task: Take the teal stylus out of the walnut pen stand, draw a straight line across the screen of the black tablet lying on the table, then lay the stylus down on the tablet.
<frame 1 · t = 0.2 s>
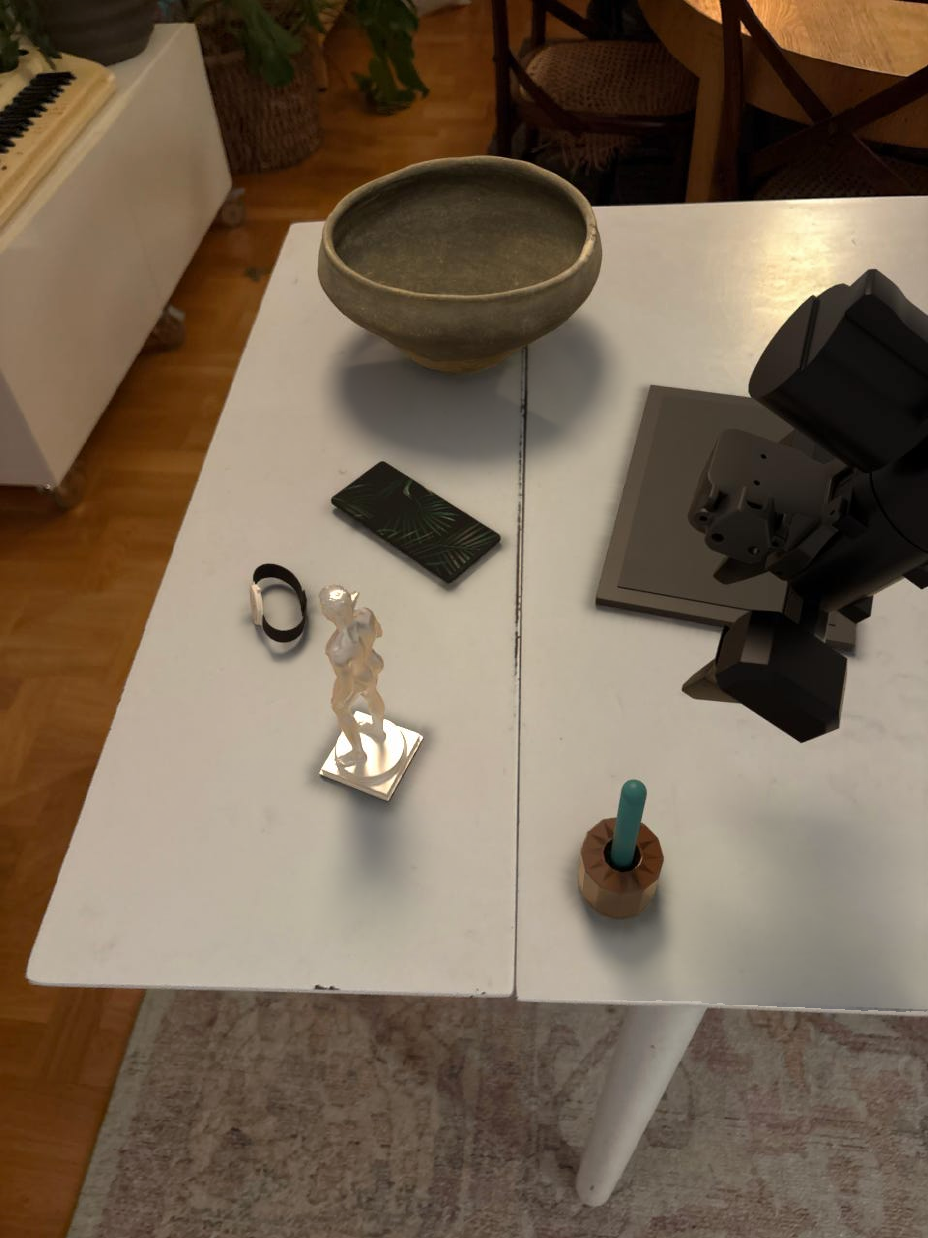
hand: (703, 633, 55), 13 cm above the table, tool tilted 30°, fingers open, 9 cm apart
stylus: (617, 879, 59), resting on pen stand
tablet: (737, 504, 80), on the table
figurine: (377, 746, 67), on the table
smartphone: (414, 524, 81), on the table
pen stand: (616, 882, 60), on the table
watch: (282, 614, 76), on the table
bowl: (465, 343, 97), on the table
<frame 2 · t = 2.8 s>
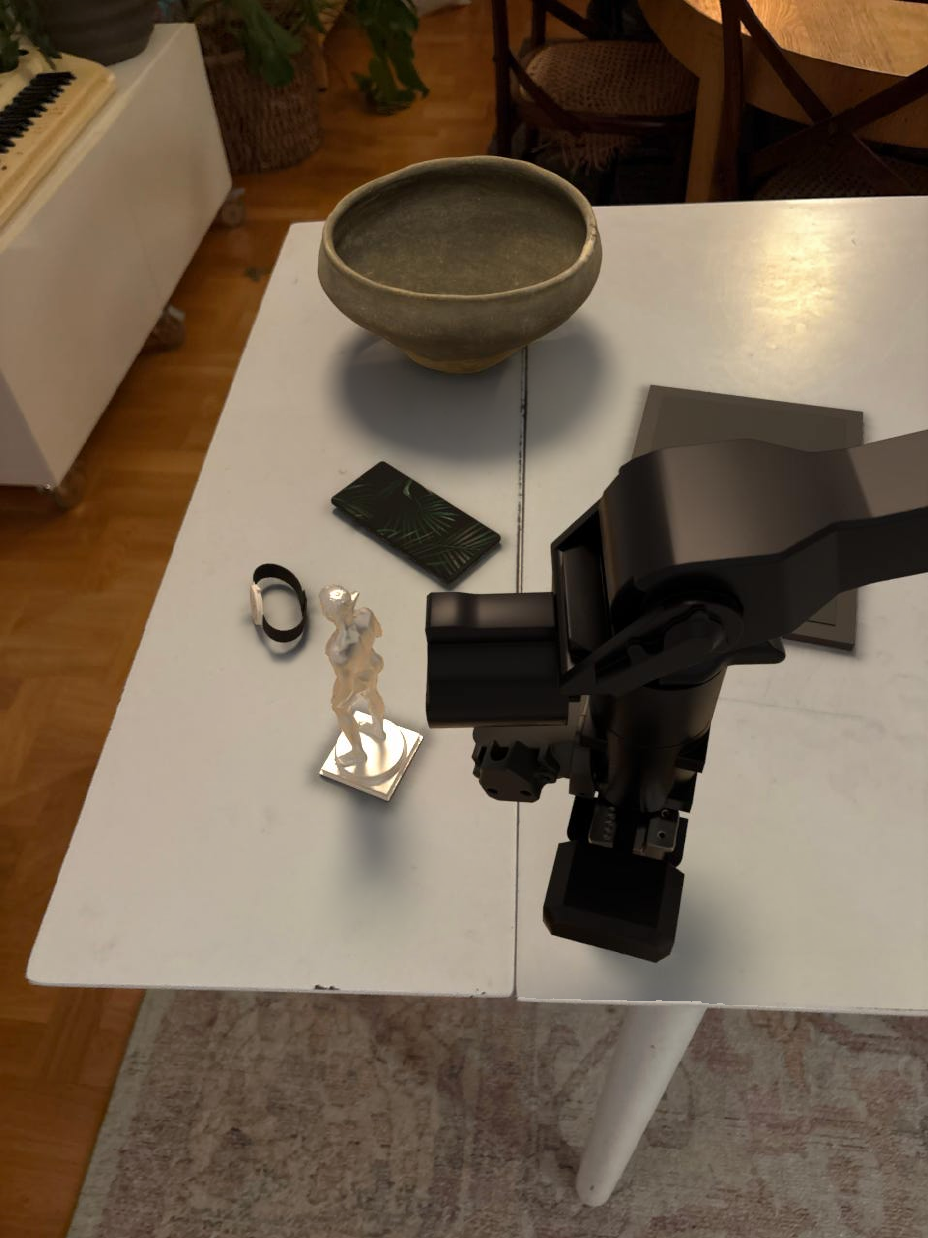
hand: (625, 837, 54), 7 cm above the table, tool pointing down, fingers closed on stylus, 1 cm apart
stylus: (617, 879, 59), resting on pen stand, touching gripper
everything else where it was.
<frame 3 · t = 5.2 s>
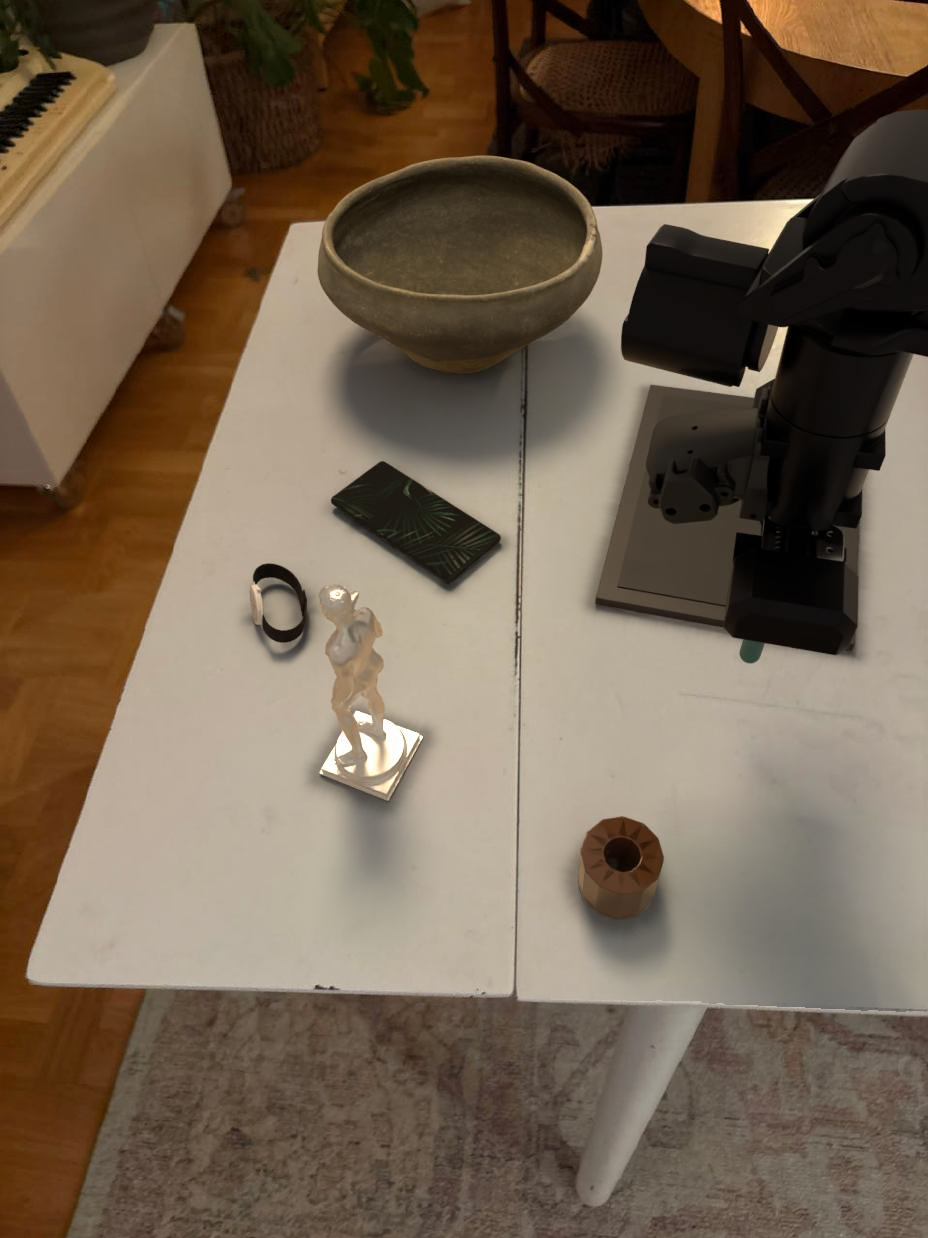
hand: (768, 599, 57), 13 cm above the table, tool pointing down, fingers closed on stylus
stylus: (748, 659, 62), point 6 cm above the table, touching gripper
everything else where it was.
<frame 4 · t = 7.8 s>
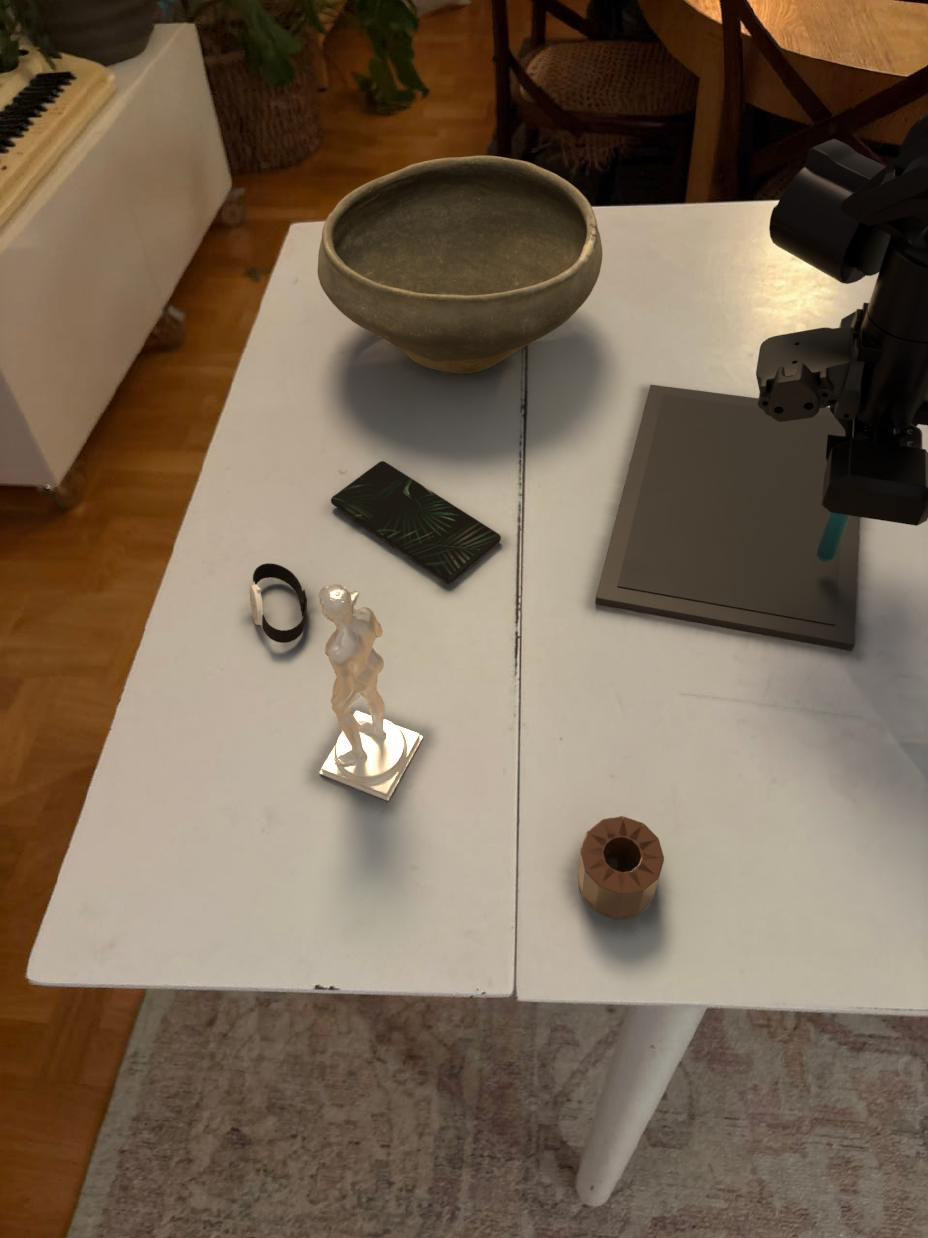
hand: (847, 500, 67), 9 cm above the table, tool pointing down, fingers closed on stylus, 1 cm apart
stylus: (823, 558, 72), point 3 cm above the table, touching gripper
everything else where it was.
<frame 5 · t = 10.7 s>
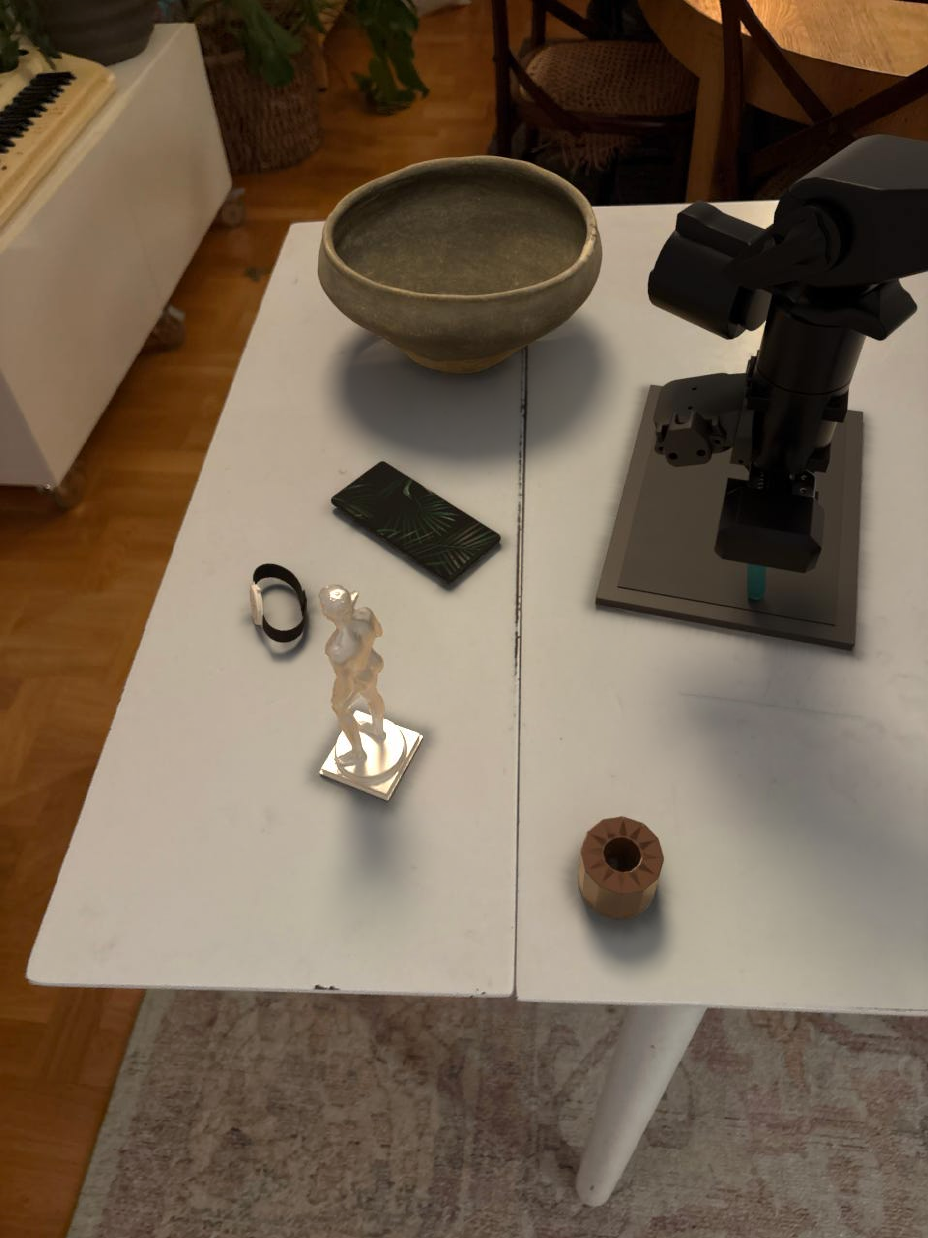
hand: (754, 539, 68), 7 cm above the table, tool pointing down, fingers closed on stylus, 1 cm apart
stylus: (755, 596, 72), point 1 cm above the table, tilted 10°, touching gripper
everything else where it was.
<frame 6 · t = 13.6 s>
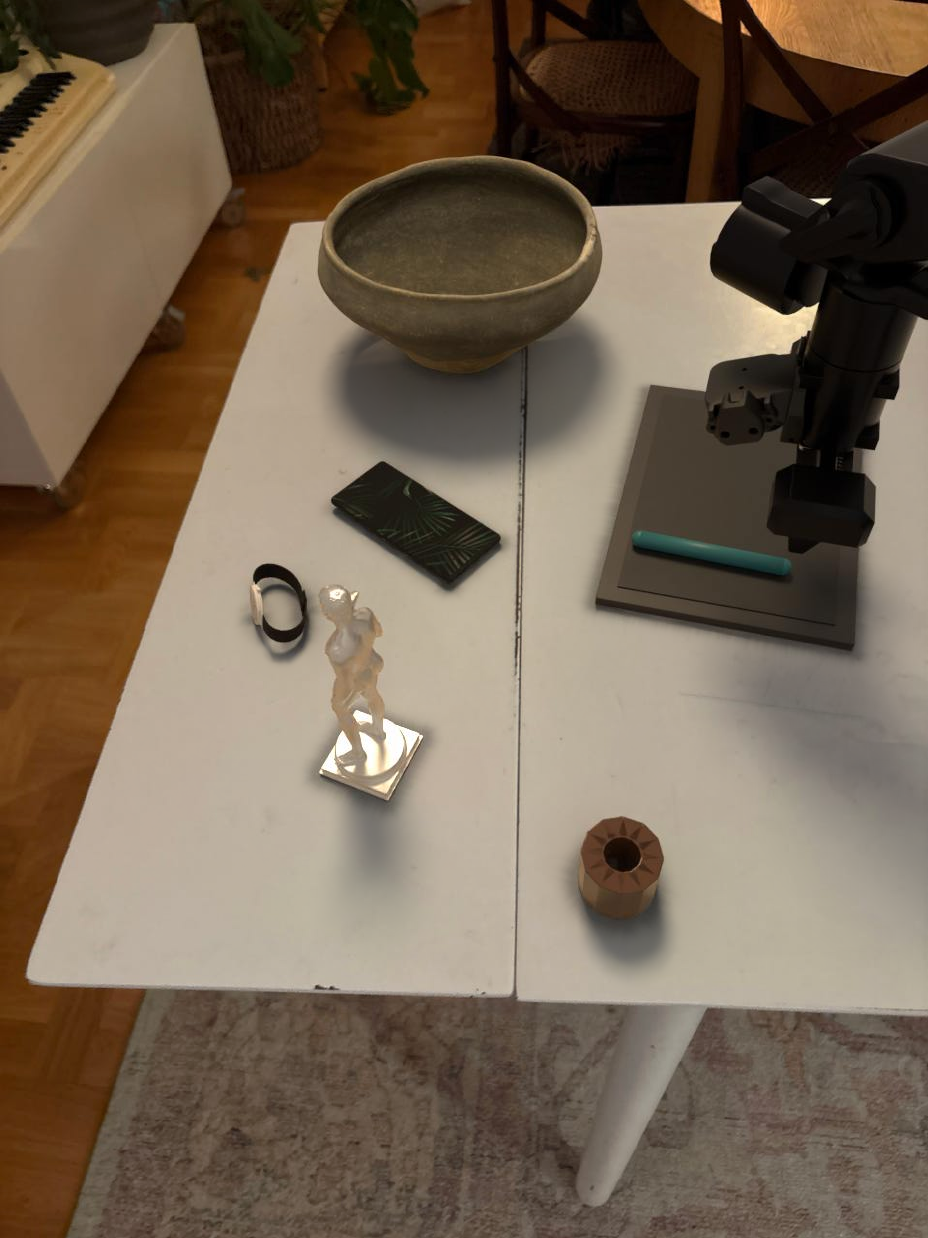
hand: (798, 519, 69), 7 cm above the table, tool pointing down, fingers open, 6 cm apart
stylus: (791, 568, 73), point 2 cm above the table, tilted 90°, touching tablet
everything else where it was.
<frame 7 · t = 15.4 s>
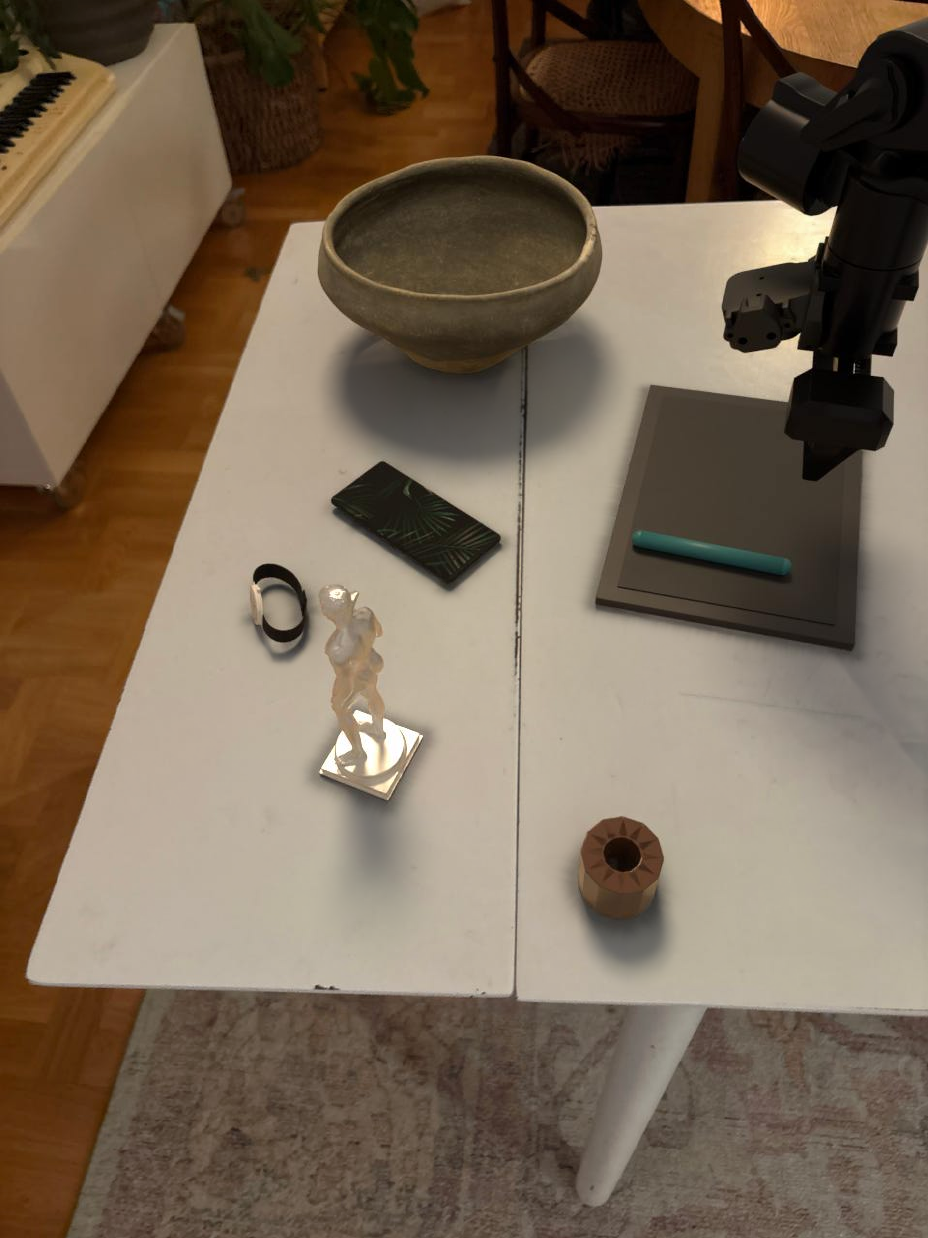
hand: (813, 437, 69), 11 cm above the table, tool pointing down, fingers open, 9 cm apart
nothing on the table moved.
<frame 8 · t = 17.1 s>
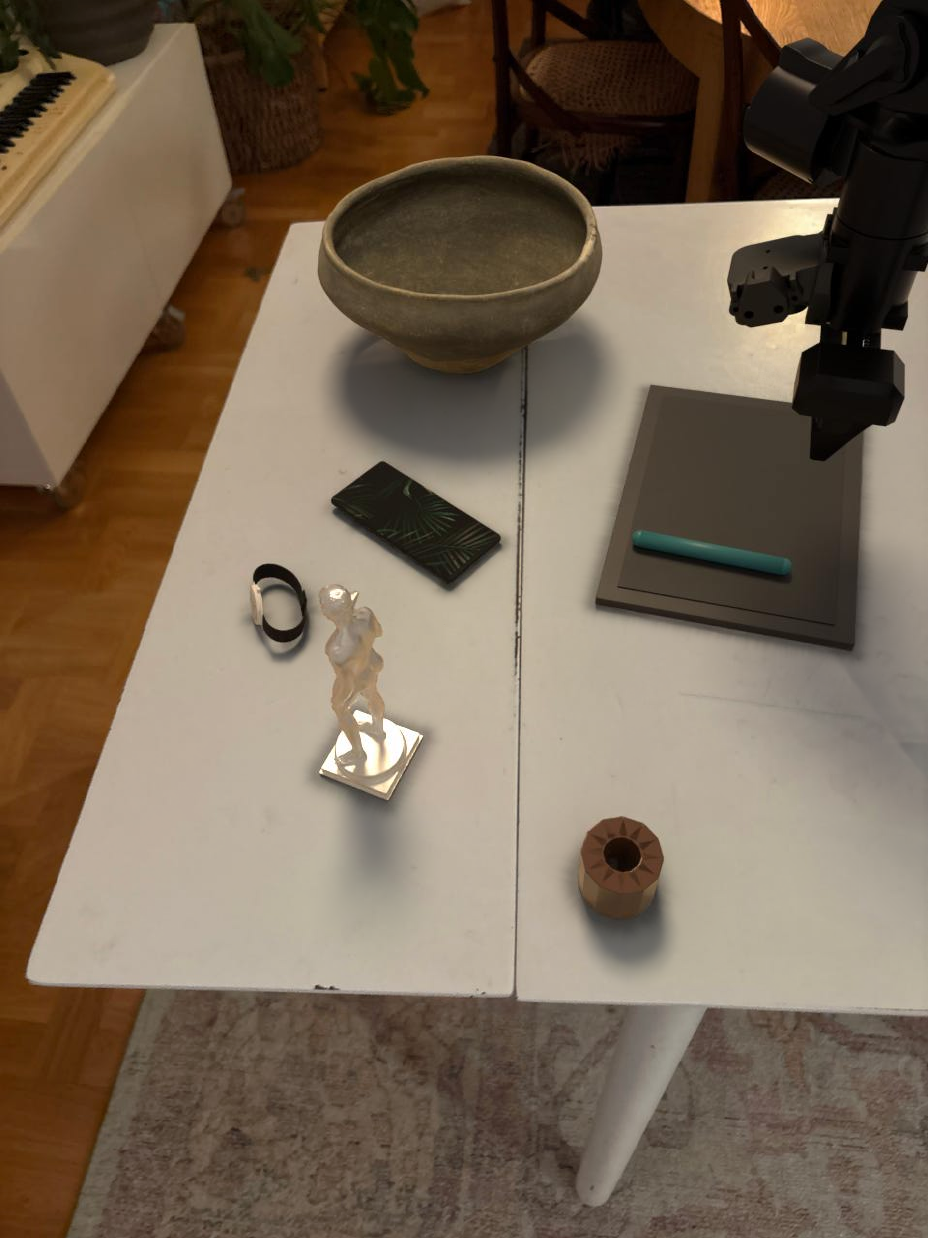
hand: (820, 417, 67), 13 cm above the table, tool pointing down, fingers open, 9 cm apart
nothing on the table moved.
at the end: stylus 1.0 cm from the target spot on the tablet, point 1.7 cm above the tablet's base; stylus tilted 90°; stylus touching tablet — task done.
